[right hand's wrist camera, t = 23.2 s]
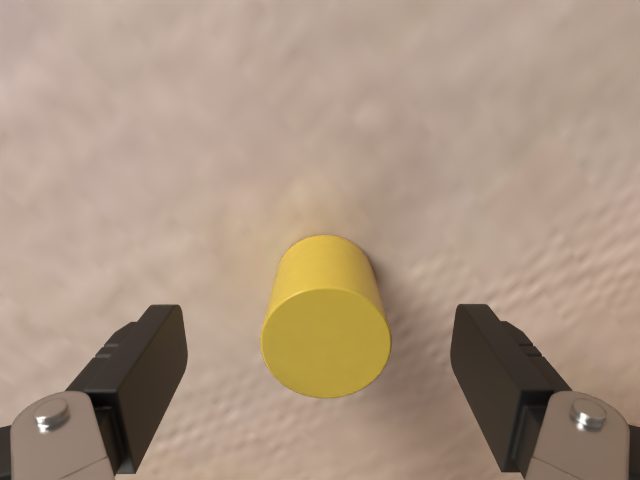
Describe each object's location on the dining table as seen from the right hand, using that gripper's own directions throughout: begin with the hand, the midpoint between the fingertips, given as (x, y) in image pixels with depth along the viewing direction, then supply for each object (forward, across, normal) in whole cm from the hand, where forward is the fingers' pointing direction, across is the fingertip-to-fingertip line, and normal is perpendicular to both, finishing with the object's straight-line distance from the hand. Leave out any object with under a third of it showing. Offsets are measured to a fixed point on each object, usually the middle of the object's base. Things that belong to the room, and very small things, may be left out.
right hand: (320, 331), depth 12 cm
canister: (+3, 0, 0) cm, 3 cm away
